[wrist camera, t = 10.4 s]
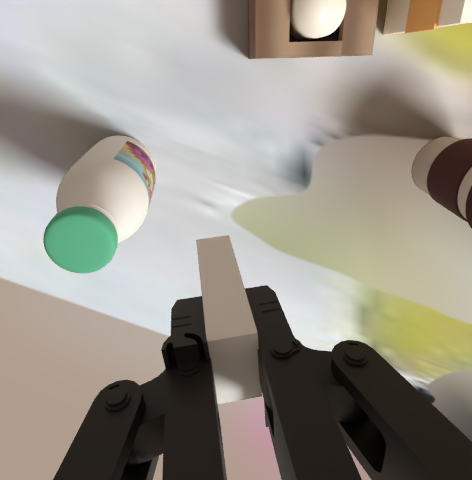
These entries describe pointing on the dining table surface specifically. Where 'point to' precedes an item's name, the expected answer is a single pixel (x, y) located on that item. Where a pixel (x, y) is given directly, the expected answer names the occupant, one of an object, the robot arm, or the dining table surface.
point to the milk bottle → (100, 204)
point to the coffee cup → (446, 174)
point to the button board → (278, 46)
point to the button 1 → (315, 17)
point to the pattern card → (425, 15)
